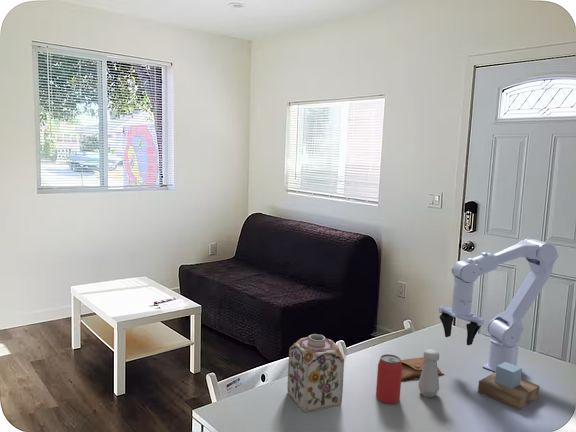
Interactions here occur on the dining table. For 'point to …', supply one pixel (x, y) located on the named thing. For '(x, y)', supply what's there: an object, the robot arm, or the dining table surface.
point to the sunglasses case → (413, 368)
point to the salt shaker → (429, 374)
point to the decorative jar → (315, 373)
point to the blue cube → (508, 375)
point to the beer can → (389, 379)
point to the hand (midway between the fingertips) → (458, 340)
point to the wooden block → (509, 392)
